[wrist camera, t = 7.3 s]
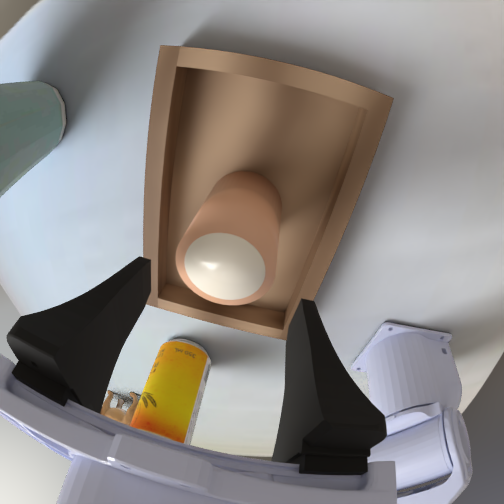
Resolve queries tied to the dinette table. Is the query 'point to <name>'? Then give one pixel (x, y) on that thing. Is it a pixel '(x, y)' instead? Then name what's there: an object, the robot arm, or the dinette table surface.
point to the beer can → (173, 391)
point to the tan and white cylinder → (233, 241)
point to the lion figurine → (119, 409)
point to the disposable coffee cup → (27, 127)
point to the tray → (254, 168)
